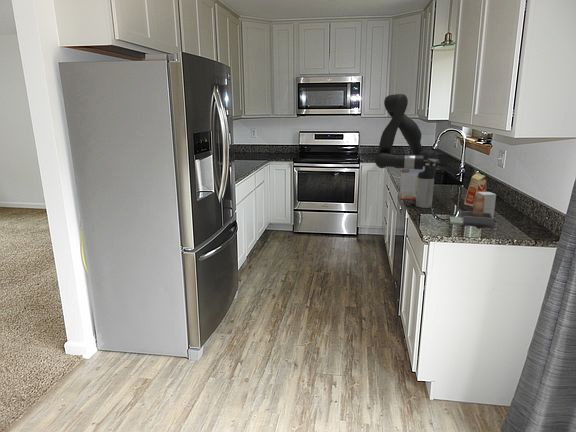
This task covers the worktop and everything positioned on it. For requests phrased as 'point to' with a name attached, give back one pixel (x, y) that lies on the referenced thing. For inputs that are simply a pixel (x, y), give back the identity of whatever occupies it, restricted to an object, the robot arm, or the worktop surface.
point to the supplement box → (488, 202)
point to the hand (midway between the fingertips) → (447, 163)
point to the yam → (478, 206)
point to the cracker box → (409, 183)
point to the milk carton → (475, 188)
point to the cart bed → (474, 220)
